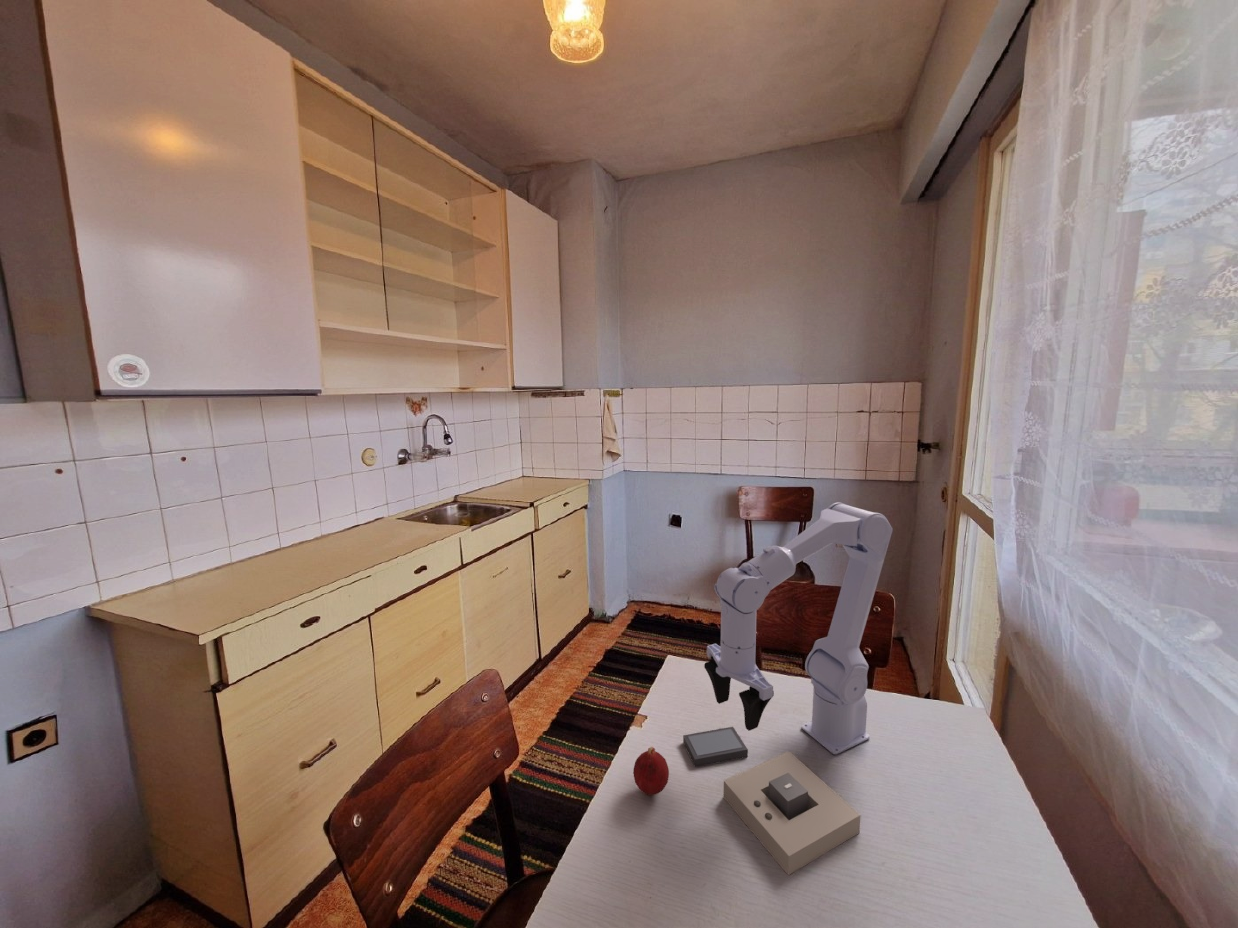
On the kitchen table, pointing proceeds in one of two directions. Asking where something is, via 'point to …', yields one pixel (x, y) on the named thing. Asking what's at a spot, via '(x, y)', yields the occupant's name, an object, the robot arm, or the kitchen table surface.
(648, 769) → the onion
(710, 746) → the phone
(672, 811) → the kitchen table surface
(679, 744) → the kitchen table surface
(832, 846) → the outlet plate
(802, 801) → the block
